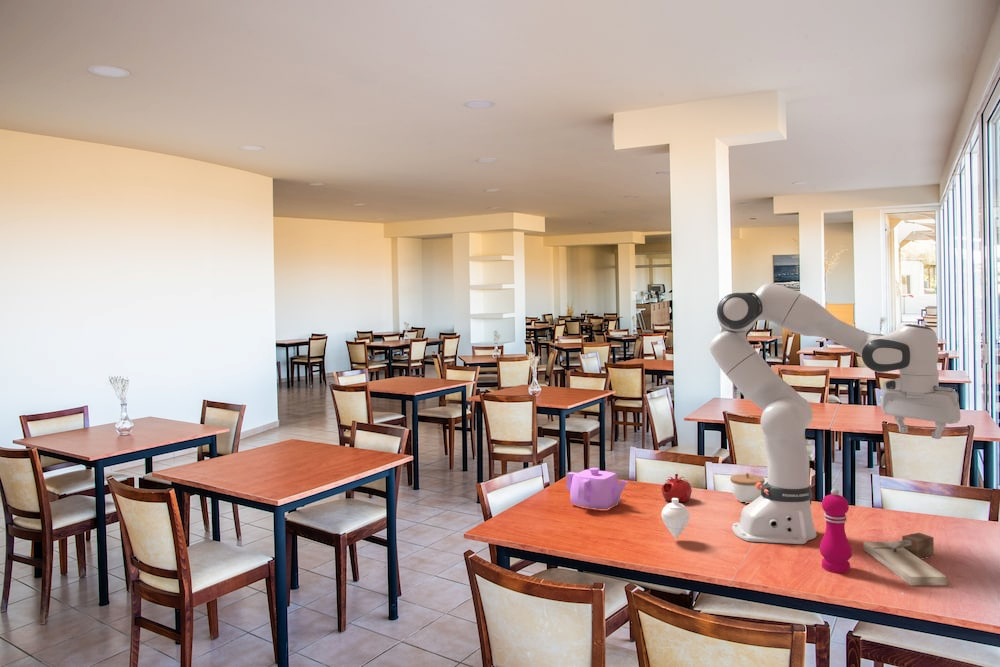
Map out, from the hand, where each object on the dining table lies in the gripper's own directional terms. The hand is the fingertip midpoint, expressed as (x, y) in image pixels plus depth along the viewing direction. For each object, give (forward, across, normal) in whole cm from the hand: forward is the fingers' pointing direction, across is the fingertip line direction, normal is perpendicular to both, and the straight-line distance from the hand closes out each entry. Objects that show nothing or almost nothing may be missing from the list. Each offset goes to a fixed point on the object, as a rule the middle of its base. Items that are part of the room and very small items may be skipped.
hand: (919, 435), depth 183 cm
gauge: (+29, -6, +13) cm, 32 cm away
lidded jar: (+29, +51, +13) cm, 60 cm away
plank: (+29, -9, +20) cm, 36 cm away
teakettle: (+29, +72, +59) cm, 97 cm away
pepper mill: (+29, -3, +35) cm, 46 cm away
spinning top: (+29, +31, +57) cm, 71 cm away
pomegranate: (+29, +63, +33) cm, 77 cm away
